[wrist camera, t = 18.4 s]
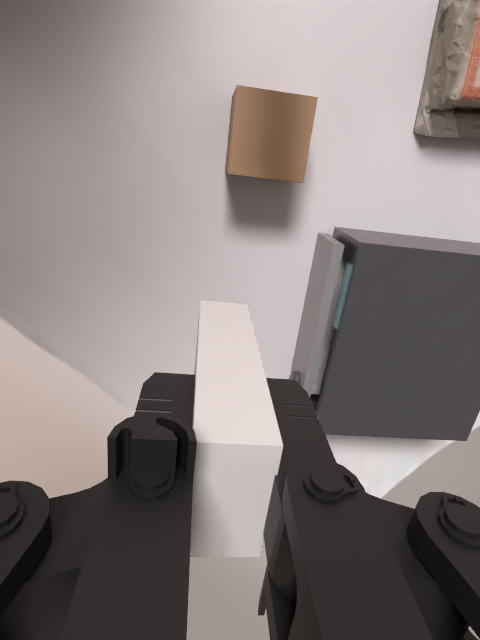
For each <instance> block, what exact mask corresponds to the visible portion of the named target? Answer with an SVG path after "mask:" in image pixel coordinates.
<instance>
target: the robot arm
mask: <svg viewBox="0 0 480 640" xmlns="http://www.w3.org/2000/svg"><path fill="white" fill-rule="evenodd" d="M107 441H108V478H106V479H105V480H104V481H103V482H101V483H99V484H97V485H95V486H93V487H91V488H89V489H86V490H83V491H80V492H76V493H72V494H68V495H63V496H59V497H54V498H50V499H49V498H48V496H47V495H46V493H45V492H44V490H43V489H42V488H41V487H39V486H36V485H34V484H32V483H30V482H23V481H7V482H2V483H0V640H186V632H187V611H188V588H189V586H188V585H189V565H190V564H189V563H190V557H260V556H261V552H262V547H263V542H265V549H266V556H267V568H266V572H265V577H264V581H263V586H262V590H261V595H260V600H259V608H258V615H264V613H265V609H267V617H268V625H269V633H270V640H478V639H477V638H476V637H475V636H474V635H473V634H472V633H471V632H470V631H469V629H468V627H469V626H471V628H472V629H473V630H474V631H475V633H476V634H477V636H478V637H479V638H480V508H479V507H478V506H477V505H474V504H473V503H471V502H469V501H467V500H465V499H463V498H461V497H458V496H456V495H452V494H449V493H445V492H429V493H427V494H425V495H423V496H421V497H420V499H419V501H418V503H417V505H416V508H415V509H413V508H409V507H406V506H403V505H399V504H396V503H393V502H389V501H385V500H382V499H380V498H377V497H374V496H372V495H369V494H368V493H366V492H365V490H364V487H363V486H362V485H361V483H360V482H359V480H358V479H357V477H356V476H355V475H354V474H353V473H351V472H350V471H349V470H348V469H346V468H345V467H344V466H342V465H340V464H337V463H336V460H335V458H334V456H333V453H332V451H331V448H330V446H329V443H328V441H327V439H326V436H325V434H324V431H323V429H322V426H321V424H320V422H319V420H317V414H316V412H315V409H314V408H313V405H312V402H311V400H310V397H309V395H308V392H307V391H306V390H305V389H304V388H303V387H302V386H301V385H299V384H298V383H297V382H296V381H295V380H288V379H272V378H266V376H265V372H264V368H263V364H262V360H261V356H260V352H259V348H258V344H257V340H256V337H255V333H254V329H253V325H252V321H251V317H250V313H249V309H248V305H247V304H242V303H230V302H218V301H207V300H200V312H199V323H198V335H197V347H196V359H195V370H194V375H188V374H172V373H156V372H155V373H154V374H153V375H152V376H151V377H150V378H149V379H148V380H146V381H145V382H144V383H143V386H142V390H141V393H140V397H139V400H138V404H137V407H136V412H135V415H134V416H133V417H130V418H127V419H125V420H124V421H122V422H121V423H119V424H118V425H116V426H115V427H114V428H113V430H112V431H111V433H110V434H109V436H108V438H107Z"/></svg>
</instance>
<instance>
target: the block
mask: <svg viewBox="0 0 480 640" xmlns="http://www.w3.org/2000/svg"><path fill="white" fill-rule="evenodd" d="M317 98H318V97H312V96H305V95H298V94H292V93H285V92H279V91H272V90H265V89H259V88H252V87H246V86H239V85H237V86H236V89H235V91H234V94H233V96H232V105H231V115H230V125H229V136H228V146H227V156H226V166H225V171H226V172H227V173H228V174H235V175H243V176H251V177H259V178H267V179H275V180H283V181H291V182H299V183H303V179H304V173H305V168H306V162H307V156H308V150H309V145H310V139H311V133H312V127H313V121H314V116H315V110H316V104H317Z"/></svg>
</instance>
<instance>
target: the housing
mask: <svg viewBox="0 0 480 640" xmlns="http://www.w3.org/2000/svg"><path fill="white" fill-rule="evenodd" d="M333 237H334V238H336V239H337V240H338V241H340V242H341V243H343V244H344V245H346V246H347V247H349V248H350V249H352V250H353V254H352V258H351V262H347V263H346V267H345V271H344V276H343V280H342V284H341V289H340V293H339V297H338V301H337V306H336V310H335V314H334V319H333V323H332V325H333V326H334V328H335V330H334V334H333V338H332V343H331V347H330V351H329V355H328V360H327V364H326V368H325V372H324V377H323V381H322V385H321V389H320V393H319V394H311V396H310V400H311V402H312V405H313V408H314V409H315V412H316V414H317V420H319V422H320V424H321V426H322V429H323V431H324V434H333V435H354V436H375V437H395V438H416V439H437V440H458V441H467V439H468V436H469V434H470V432H471V429H472V427H473V425H474V422H475V420H476V418H477V416H478V413H479V411H480V243H472V242H463V241H455V240H446V239H437V238H428V237H419V236H410V235H401V234H392V233H383V232H375V231H366V230H357V229H348V228H339V227H335V229H334V234H333Z"/></svg>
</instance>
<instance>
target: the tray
mask: <svg viewBox="0 0 480 640" xmlns="http://www.w3.org/2000/svg"><path fill="white" fill-rule="evenodd" d="M352 254H353V250H352V249H350V248H349V247H347V246H346V245H344V244H343V243H341V242H339V241H338V240H336V239H335V238H333V237H332V236H330V235H329V234H326V233H318V237H317V242H316V247H315V252H314V257H313V263H312V268H311V273H310V278H309V283H308V288H307V293H306V298H305V303H304V308H303V313H302V318H301V323H300V328H299V334H298V339H297V344H296V349H295V354H294V359H293V364H292V369H291V374H290V379H289V380H295V381H296V382H297V383H298V384H299V385H301V386H302V387H303V388H304V389H305V390H306V391H307V392H308V395H309V397H310V396H311V394H319V393H320V389H321V385H322V381H323V377H324V372H325V368H326V364H327V360H328V355H329V351H330V347H331V343H332V338H333V334H334V330H335V328H334V326H333V325H332V323H333V319H334V314H335V310H336V306H337V301H338V297H339V293H340V289H341V284H342V280H343V276H344V271H345V267H346V263H347V262H351V258H352Z"/></svg>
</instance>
